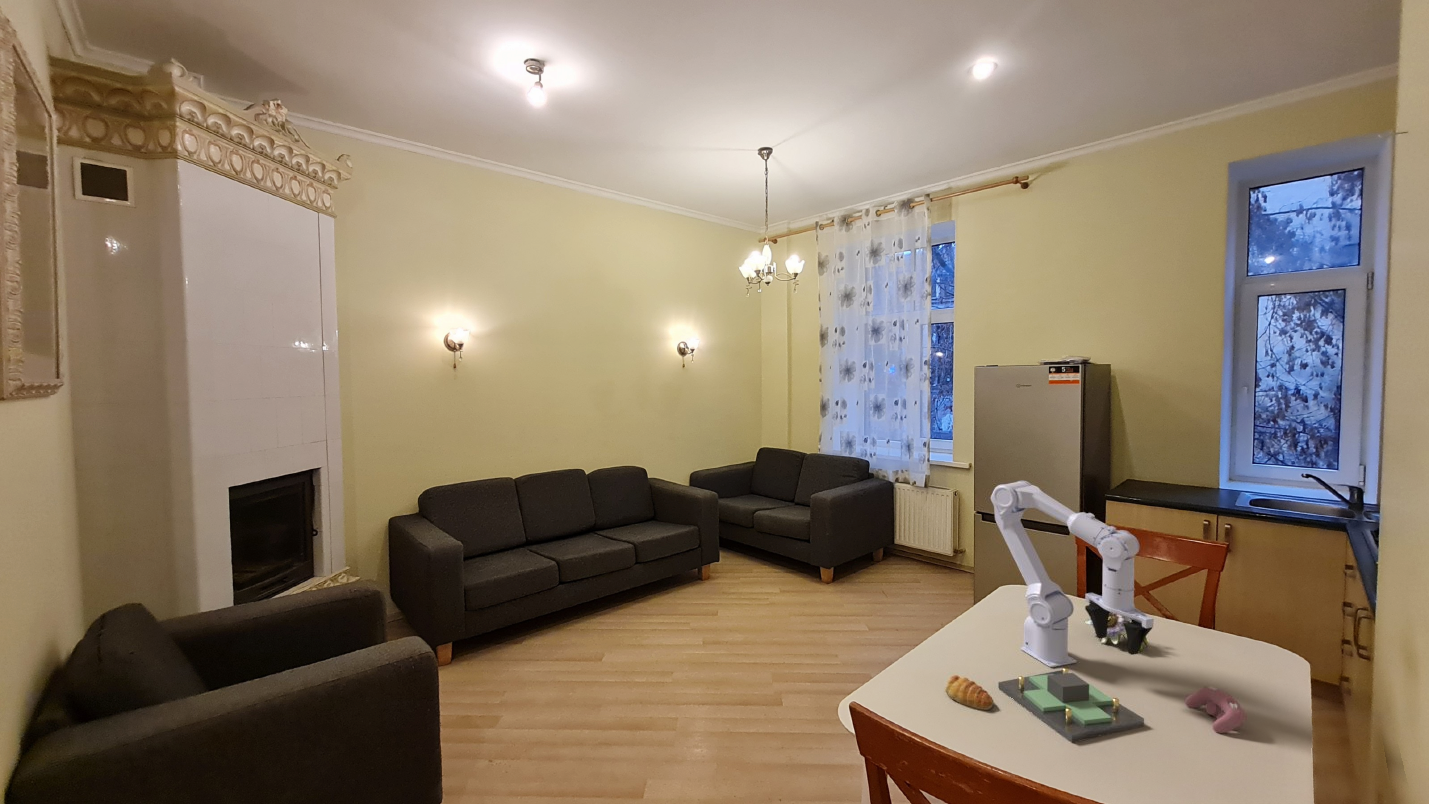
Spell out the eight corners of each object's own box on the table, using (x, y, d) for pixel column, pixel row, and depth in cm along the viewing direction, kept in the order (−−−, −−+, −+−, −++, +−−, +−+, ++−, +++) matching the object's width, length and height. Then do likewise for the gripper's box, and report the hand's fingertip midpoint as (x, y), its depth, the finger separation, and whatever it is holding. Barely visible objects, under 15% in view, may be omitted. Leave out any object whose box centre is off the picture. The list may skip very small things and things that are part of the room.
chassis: (998, 688, 125) (998, 671, 125) (1063, 676, 130) (1063, 659, 130) (1071, 742, 107) (1071, 722, 107) (1143, 725, 111) (1144, 706, 111)
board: (1008, 681, 125) (1008, 663, 125) (1073, 675, 127) (1073, 657, 127) (1061, 726, 109) (1061, 705, 109) (1134, 718, 111) (1134, 697, 111)
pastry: (999, 704, 120) (999, 687, 120) (984, 717, 116) (984, 699, 116) (957, 685, 127) (957, 669, 127) (941, 697, 123) (941, 680, 123)
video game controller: (1237, 743, 108) (1256, 714, 107) (1213, 731, 109) (1232, 702, 108) (1202, 713, 118) (1220, 685, 117) (1180, 702, 118) (1198, 674, 117)
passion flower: (1104, 663, 145) (1073, 619, 149) (1125, 645, 150) (1095, 603, 154) (1143, 656, 136) (1109, 609, 140) (1165, 637, 141) (1131, 593, 145)
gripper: (1165, 596, 118) (1163, 658, 119) (1102, 572, 132) (1101, 628, 133) (1139, 600, 116) (1138, 663, 117) (1078, 576, 131) (1077, 632, 131)
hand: (1116, 645), depth 125 cm, fingers open, 7 cm apart
